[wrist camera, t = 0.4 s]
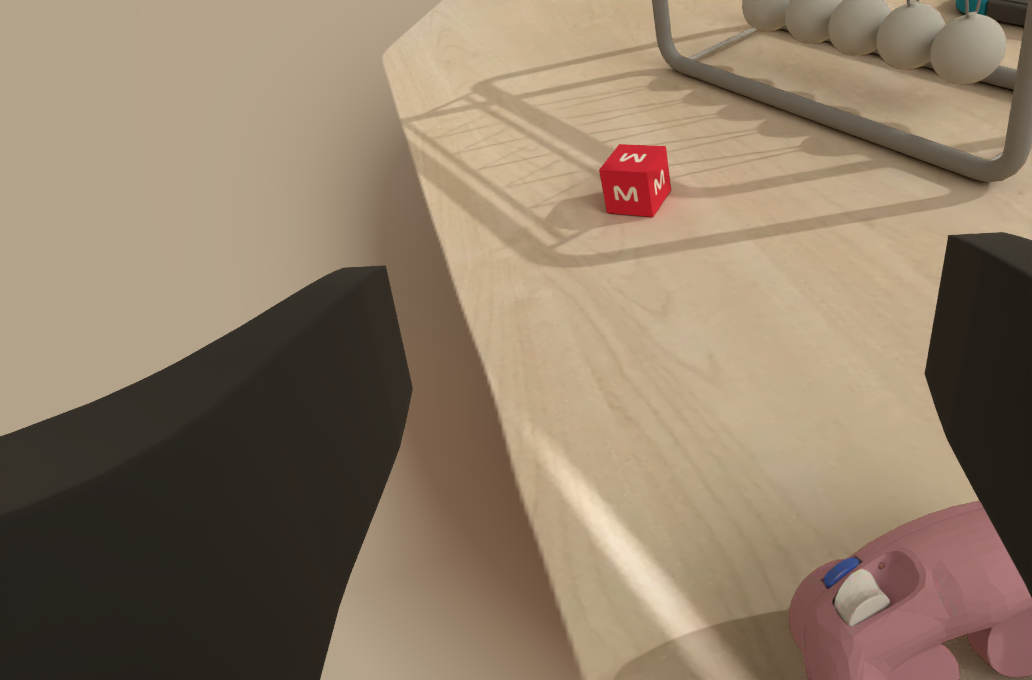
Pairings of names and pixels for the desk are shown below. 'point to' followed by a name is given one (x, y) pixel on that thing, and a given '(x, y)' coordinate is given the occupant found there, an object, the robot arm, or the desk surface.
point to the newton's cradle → (902, 44)
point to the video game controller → (916, 604)
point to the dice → (635, 180)
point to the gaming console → (999, 9)
